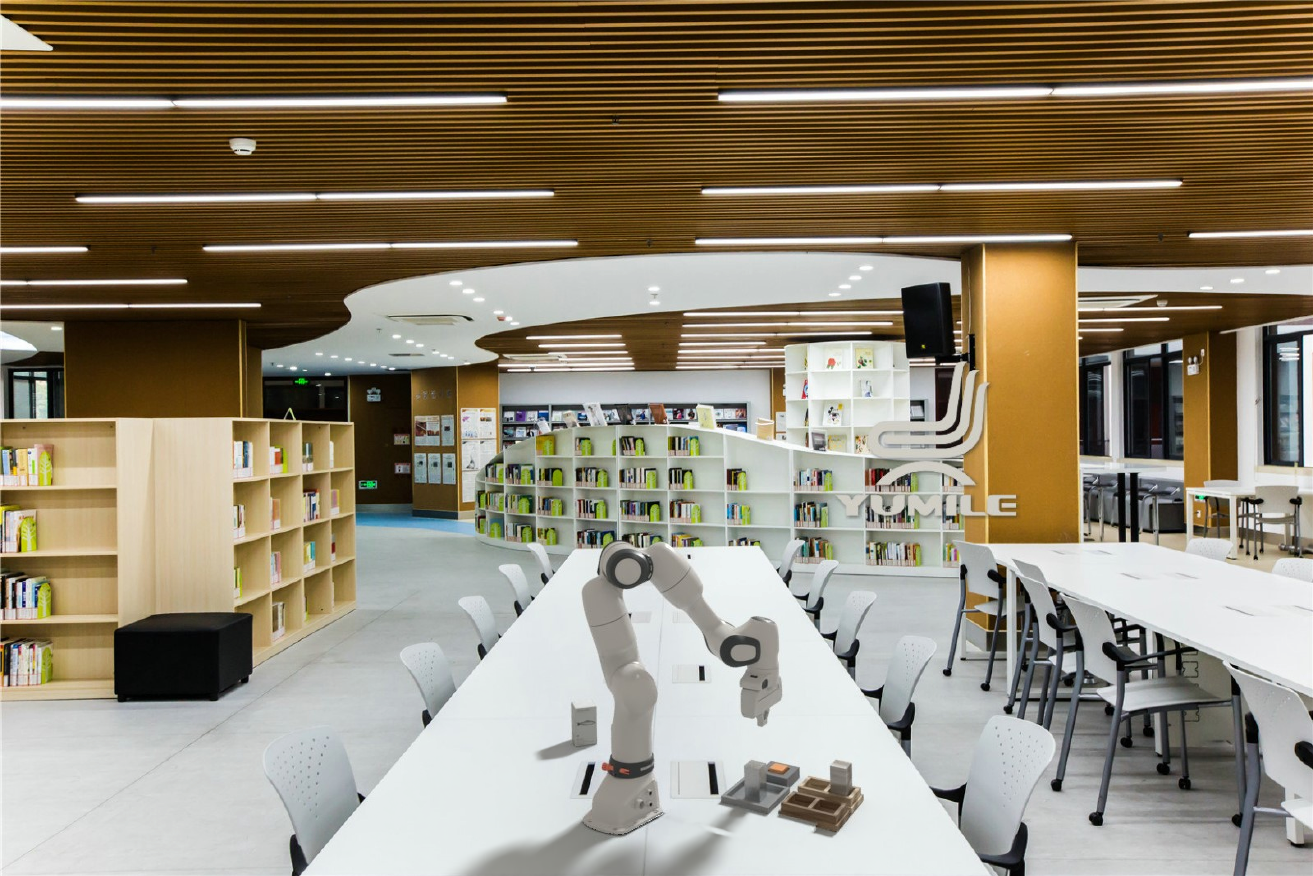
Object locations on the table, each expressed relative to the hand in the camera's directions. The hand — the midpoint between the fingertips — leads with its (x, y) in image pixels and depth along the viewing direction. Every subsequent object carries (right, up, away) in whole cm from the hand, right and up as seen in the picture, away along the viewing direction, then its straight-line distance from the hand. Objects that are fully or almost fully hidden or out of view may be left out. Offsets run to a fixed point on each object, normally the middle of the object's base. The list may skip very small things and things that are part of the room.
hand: (762, 725), depth 225 cm
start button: (+6, -17, +6) cm, 19 cm away
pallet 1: (+18, -19, -5) cm, 26 cm away
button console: (+6, -19, +6) cm, 21 cm away
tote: (-2, -19, -4) cm, 20 cm away
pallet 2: (+12, -19, -14) cm, 26 cm away
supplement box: (-53, -20, +40) cm, 70 cm away
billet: (-2, -18, -4) cm, 19 cm away
